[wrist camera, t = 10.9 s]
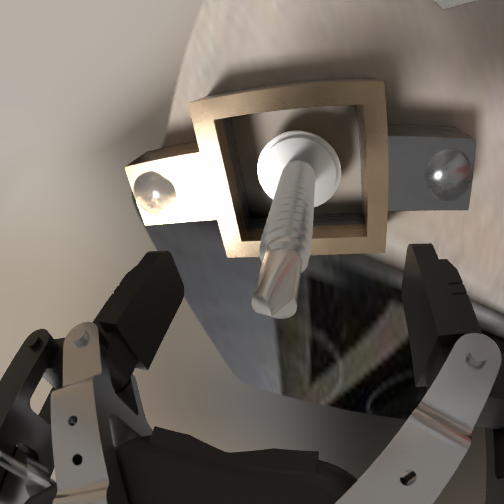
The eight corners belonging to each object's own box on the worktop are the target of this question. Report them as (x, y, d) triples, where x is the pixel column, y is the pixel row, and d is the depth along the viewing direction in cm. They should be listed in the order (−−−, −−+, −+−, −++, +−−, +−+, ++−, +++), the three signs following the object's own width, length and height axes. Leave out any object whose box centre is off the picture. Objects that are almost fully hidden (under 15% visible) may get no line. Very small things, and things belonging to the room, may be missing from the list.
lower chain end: (454, 83, 13) (476, 89, 11) (446, 226, 19) (460, 249, 16) (206, 96, 17) (188, 103, 15) (237, 233, 23) (227, 257, 20)
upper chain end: (373, 78, 15) (384, 81, 12) (378, 227, 20) (384, 252, 18) (135, 114, 19) (111, 125, 16) (174, 237, 24) (158, 259, 22)
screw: (352, 173, 18) (290, 206, 21) (312, 109, 17) (248, 149, 19) (384, 339, 8) (253, 375, 10) (301, 207, 6) (155, 285, 9)
